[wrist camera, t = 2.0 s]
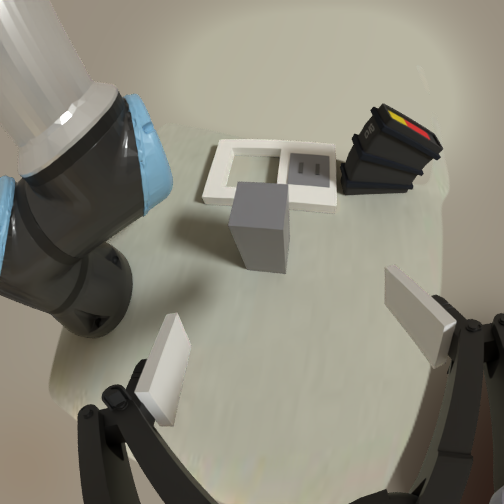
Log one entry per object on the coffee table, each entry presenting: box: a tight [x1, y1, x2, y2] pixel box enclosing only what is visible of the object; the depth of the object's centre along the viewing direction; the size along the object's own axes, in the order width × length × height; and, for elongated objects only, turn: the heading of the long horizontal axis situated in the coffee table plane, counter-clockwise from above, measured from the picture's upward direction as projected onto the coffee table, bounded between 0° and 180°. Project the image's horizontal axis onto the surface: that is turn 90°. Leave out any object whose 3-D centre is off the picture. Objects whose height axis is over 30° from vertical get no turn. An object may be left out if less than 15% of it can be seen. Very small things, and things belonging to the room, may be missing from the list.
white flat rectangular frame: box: [202, 139, 337, 214], centre depth 40 cm, size 19×12×2 cm, turn 81°
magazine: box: [340, 104, 443, 195], centre depth 33 cm, size 4×13×15 cm, turn 93°
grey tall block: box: [228, 182, 290, 274], centre depth 31 cm, size 5×5×12 cm
